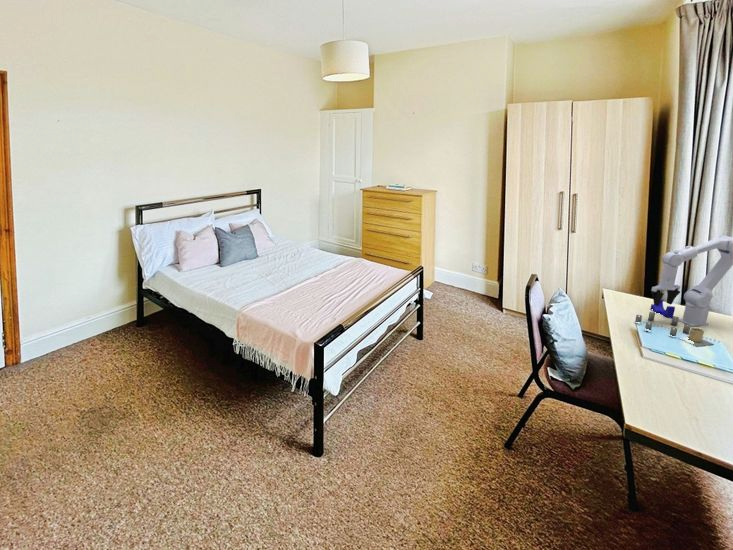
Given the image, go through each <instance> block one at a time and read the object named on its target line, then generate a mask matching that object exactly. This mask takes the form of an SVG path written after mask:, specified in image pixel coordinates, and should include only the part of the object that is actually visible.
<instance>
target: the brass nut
mask: <svg viewBox="0 0 733 550" xmlns="http://www.w3.org/2000/svg"><path fill="white" fill-rule="evenodd" d="M704 334H705V330H704V329H701V328H698V327H690V331H689V334H688V336H689V339H688V340H691V341H693V342H698V343H701V341H702V339H704V338H703V337H704Z"/></svg>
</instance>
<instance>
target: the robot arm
mask: <svg viewBox="0 0 733 550" xmlns="http://www.w3.org/2000/svg"><path fill="white" fill-rule="evenodd" d="M715 249H717V251H718V252H719V254H720V258H719V259H718V261H717V262H716V263H715V265H713V267H712V268H711V269H710V270H709V272H708V273H707V274H706V275H705V277H704V278H703V279H702V280H701V282H700V283H699V284H697V285H694V286H692V287H691V288H690V289H688V290H686V292H685V293H684V295H683V299H684V301H685V307H684V311H683V315H682V318H679V319H678V322H681V323H684V324H689V325H691V327H697V326H705V325H708V323H707V321H708V316H709V313H710V309H709V307H708V306H710V303H711V300H712V299H713V297H714V295H713V290H714V288H715V287H716V286H717V285H718V284H719V282H720V281H721V280H722V279H723V278H724V277H725V275H726V274H727V273H728V272H729V270H730V269H731V268H732V267H733V237H732V236H728V235H726V234H725V235H724V234H722V235H718V236H714V237H713V238H712V239H711V240H707V241H706V242H704V243H701V244H699V245H696V246H692V245H687V246H685V247H683V248H681V249H678V250H674V251H673V252H672V251H667V252H666V253H665V254H663V256H661V261H662V272H661V275H660V282H659V284H657V285H655V286H652V287H651V289H650V293H651V295H652V299H653V304H654V305H657V306H659V303H660V300H661V299H662V297H663V296H664V295H665V293H663V291H666V293H667V297H666V304H669V305H672V304H673V302H674V301H675V299H676V298H677V297H678V295H680V294H681V291H680V290H681V285H679V284H676V278H677V274H678V271H679V270H678V269H679V266H680V267H681V265H682V264H683V263H685V262H686V261H690V260H692V259H695V258H697V257H698V255H699V254H702V253H705V252H709V251H711V250H715Z"/></svg>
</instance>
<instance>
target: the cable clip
mask: <svg viewBox="0 0 733 550" xmlns="http://www.w3.org/2000/svg"><path fill="white" fill-rule="evenodd" d="M650 305H651V306H650V310H651V309H653V311H652V312H654V313H655V312H656V313H655V314H657V313H660V314H659V315H661V316H662V315H663V317H664V318H665V317H666V319H672V318H673V316H674V314H675V310H676V307H675V306H673V305H668V306H666V308H664V300H663V299H662V298H661V300H660V303H659V306H657V305H654V303H652V304H650Z"/></svg>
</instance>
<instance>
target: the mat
mask: <svg viewBox="0 0 733 550" xmlns="http://www.w3.org/2000/svg"><path fill="white" fill-rule="evenodd" d="M686 336H687V335H686ZM687 337H688V338H689V335H688V336H687ZM694 345H695V346H694ZM706 345H709V346H714V343H713V342H710V341H707V339H706V340H705V339H704V338H702V341H701V343H698V342H694V344H693V345H692V346H694V347H696V346H701V347H707V346H706Z"/></svg>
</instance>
